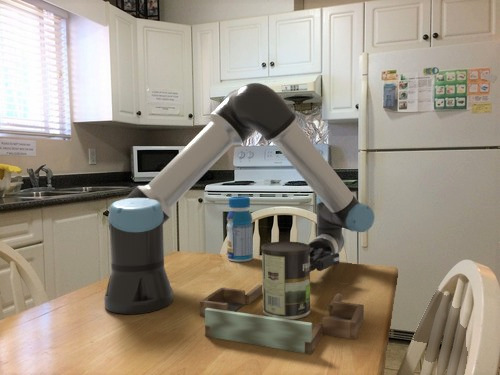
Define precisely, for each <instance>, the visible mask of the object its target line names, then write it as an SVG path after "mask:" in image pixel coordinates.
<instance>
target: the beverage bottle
mask: <svg viewBox="0 0 500 375" xmlns="http://www.w3.org/2000/svg"><path fill="white" fill-rule="evenodd" d="M250 206H251V198H250V196H230V197H229V198H228V208H229V209H230V210H229V212H228V214H227V217H226V221H227V224H226V234H227V237H226V238H227V259H228V260H229V261H231V262H236V263H243V262H248V261H252V260H253V259H254V258H253V257H254V251H253V248H254V247H253V240H254V239H253V237H254V236H253V230H254V229H253V228H254V224H253V223H252V221H253V216H252V214H251V212H250V210H249V208H250Z"/></svg>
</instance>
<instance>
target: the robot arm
mask: <svg viewBox="0 0 500 375" xmlns="http://www.w3.org/2000/svg"><path fill="white" fill-rule="evenodd" d="M209 116H210V118H209V119H210V121H209V123H207V125H206V126H204V127H203V129H202V130H201V131H199V133H198V134H196V136H195V137H193V139H192V140H191V141H190V142H189V143H188V144H187V145H186V146H185V147H184V148H182V150H181V151H179V153H177V155H176V156H175V157H174V158H173V159H171V161H170V162H169V163H168V164H167V165H166V166H165V167H163V169H161V170H160V172H158V174H157V175H156V176H154V178H153V179H152V180H151V181H150V182H148V184H145V185H137V186H136V187H135V188H134V189H133V190H132V191H131V192H130V193H129V194H128V195H127V196H126V197H125V198H123V199H119V200H116V201H114V202H113V203H111V204H110V206H109V209H108V210H109V213H108V221H107V222H108V228H109V240H110V264H111V271H110V277H109V279H108V282H107V287H106V290H105V293H104V297H103V298H104V308H105V309H106V310H107V311H108V312H111V313H114V314H119V315H120V314H121V315H123V314H124V315H134V314H135V315H136V314H137V315H139V314H143V313H144V314H146V313H150V312H154V311H158V310H161V309H163V308H166V307H168V306H169V305H171V304H172V302H173V301H174V300H173V299H174V295H173V294H174V293H173V292H174V291H173V287H172V286H171V283H170V282H171V281H170V279H169V276H168V274H167V271H166V268H165V254H164V253H165V249H164V248H165V247H164V245H165V244H164V224H165V223H166V222H167V221H168V220H169V219H171V209H172V208H173V206H174V205H175V204H177V203H178V202H179V201H180V199H181V198H182V197H183V196H185V194H186V193H187V192H188V191H189V190H190V189H191V188H192V187H193V186H194V185H195V184H196V183H197V182H198V181H199V180H200V179H201V178H202V177H203V176H204V175H205V174H206V173H207V172H208V171H209V170H210V169H211V168H212V166H214V164H216V162H218V161H219V160H220V158H221V157H223V156H224V154H226V152H227V151H228V150H229V149H230V148H231V147H232V146H235V145H236V146H237V145H240V146H241V145H242V144H243V143H244V142H245V141H246V140H247V139H248V137H250V136H251V135H252V133H254V132H255V131H256V132H258V133H259V134H260V135H261V136H262V137H263V139H265V140H266V142H270V143H273V144H274V145H275V146H276V148H277V150H279V152H281V154H282V155H283V156H284V157H285V158H286V160H287V161H288V162H289V163H290V165H291V166H292V167H293V168H294V169H295V170H296V172H297V173H298V174H299V175H300V176H301V178H302V179H303V180H304V182H306V184H307V185H308V187H310V188H311V190H312V191H313V192H314V193H315V195H316V204H315V206H316V237H315V238H313V240H312V241H309V243H308V245H309V246H310V273H311V272H314V271H315V270H316V271H317V272H321V271H324V270H326V269H328V268H330V267H331V266H334V265H338V264H340V253H341V252H342V250H343V248H344V246H345V237H344V235H343V229H345V230H349V231H350V232H357V233H365V232H367V231H369V230H370V228H371V227H372V226H373V225H374V222H375V213H374V210H373V209H372V208H371V207H370V205H367V204H365V203H363V202H362V203H361V202H359V200H358V199H357V197H356V196H355V195H354V194H353V193H352V191H351V190H350V189H349V188H348V186H347V185H346V184H345V183H344V182H343V180H342V179H341V178H340V176H339V175H338V174H337V172H336V171H335V170H334V169H333V167H332V166H331V165H330V164H329V163H328V161H327V160H326V159H325V158H324V156H323V154H322V153H321V152H320V151H319V150H318V148H317V147H316V146H315V145H314V143H313V142H312V141H311V139H310V138H309V137H308V136H307V134H306V133H305V131H303V129H302V128H301V127H300V125H299V124H298V123H297V121H298V120H297V118H298V117H297V115H296V114H295V112H294V111H293V110H292V109H291V107H290V106H289V105H288V104H287V103H286V101H285V100H283V98H282V97H281V96H280V95H279V94H278V93H277V92H276V91H275V90H274V89H273V88H271V87H269V86H267V85H266V84H263V83H259V82H253V83H251V82H250V83H247V84H245V85H243V86H241V87H239V88H237V89H234V90H233V91H231V92H229V93H228V94H226V95H225V96H224V97H223V98H222V101H220V104H219V105H218V106H217V107H216V108H214V110H213V111H212V112H211V113H210V115H209Z"/></svg>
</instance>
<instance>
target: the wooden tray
mask: <svg viewBox="0 0 500 375" xmlns="http://www.w3.org/2000/svg"><path fill="white" fill-rule="evenodd" d="M261 295H263V284H257V285H256V286H255V287H253V288H251V289H250V290H249V291H248V292H247V293H246V290H244V289H235V288H229V287H228V288H227V287H220V288H218V289H217V290H215V291H214V292H212V293H210V294H209V295H208V296H205V297H204V298H203V299H201V300H200V301H199V316H202V317H204V334H205V335H204V336H205V337H208V338H214V339H220V340H227V341H231V342H238V343H243V344H250V345H253V346H254V345H255V346H261V347H266V348H272V349H278V350H284V351H288V352H289V351H290V352H295V353H299V354H300V353H301V354H306V355H312V353H313V351H314V350H315V347H316V346H317V344H318V343H319V341H320V340H321V338H322V337H323V335H324V336H331V337H338V338H345V339H352V340H356V339H357V337H358V334H359V333H360V329H361V328H362V324H363V322H364V320H365V316H364V312H365V309H364V308H365V305H364V304H359V303H353V302H352V303H351V302H344V301H343V302H342V293H336V294H335V295H334V296H333V299H332V300H331V302H330V303H329V305H328V315H330V316H331V317H330V316H323V317H322V323H321V322H319V323H318V322H316V324H315V325H314V327H313V322H308V321H307V322H306V321H301V320H296V319H292V320H288V319H281V318H274V317H269V316H267V315H260V314H253V313H252V314H251V313H245V312H239V311H238V310H239V309H241V308H242V307H243V306H244V305H246V304H247V305H250V304H251V303H252V302H254V301H255V300H256V299H257V298H259V297H260V296H261Z"/></svg>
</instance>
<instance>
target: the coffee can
mask: <svg viewBox="0 0 500 375" xmlns="http://www.w3.org/2000/svg"><path fill="white" fill-rule="evenodd" d="M308 244H309V243H308ZM308 244H307V243H305V242H299V241H274V242H267V243H264V244H262V245H261V263H262V268H261V269H262V312H263V314H264V316H267V317H274V318H281V319H288V320H298V319H303V318H305V317H308V316H309V315H310V313H311V282H310V281H311V272H310V246H309V245H308Z"/></svg>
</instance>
